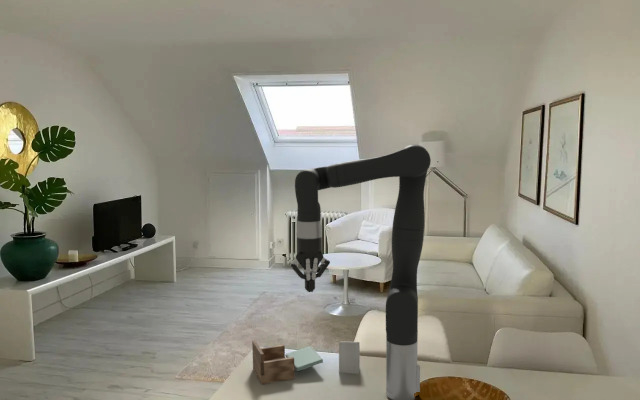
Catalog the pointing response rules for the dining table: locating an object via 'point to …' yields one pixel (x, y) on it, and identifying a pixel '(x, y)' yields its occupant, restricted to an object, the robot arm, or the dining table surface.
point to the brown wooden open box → (272, 364)
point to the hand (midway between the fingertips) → (310, 291)
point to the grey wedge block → (349, 357)
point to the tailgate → (305, 358)
